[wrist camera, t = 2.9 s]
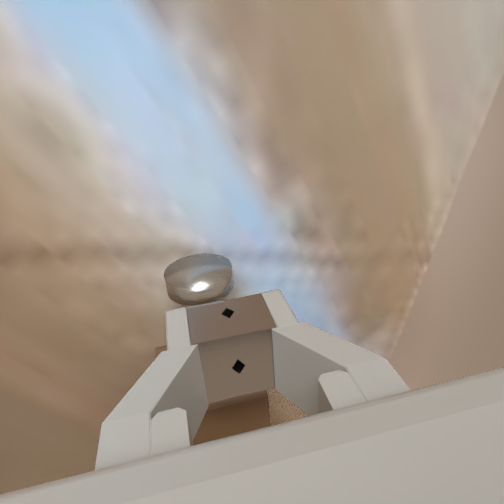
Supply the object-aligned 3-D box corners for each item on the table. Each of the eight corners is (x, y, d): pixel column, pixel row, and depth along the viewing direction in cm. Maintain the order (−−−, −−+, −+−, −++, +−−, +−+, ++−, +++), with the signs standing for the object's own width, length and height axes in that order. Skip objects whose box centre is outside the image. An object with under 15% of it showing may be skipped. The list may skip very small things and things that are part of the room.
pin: (163, 260, 24) (165, 293, 21) (225, 249, 25) (237, 279, 21) (198, 433, 32) (204, 479, 28) (245, 421, 32) (257, 464, 29)
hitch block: (155, 348, 29) (156, 422, 23) (244, 329, 31) (267, 395, 25) (176, 435, 34) (182, 517, 28) (253, 416, 35) (275, 490, 29)
